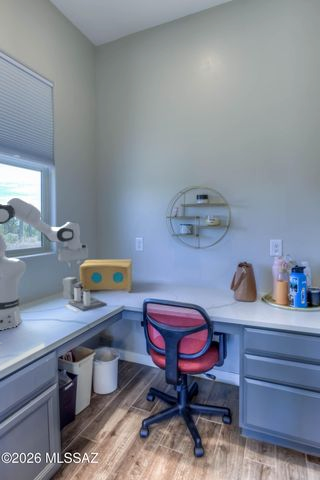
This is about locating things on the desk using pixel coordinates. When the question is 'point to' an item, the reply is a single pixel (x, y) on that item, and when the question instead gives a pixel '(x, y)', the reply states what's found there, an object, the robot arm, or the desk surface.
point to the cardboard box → (106, 274)
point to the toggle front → (86, 297)
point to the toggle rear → (77, 293)
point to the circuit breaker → (70, 287)
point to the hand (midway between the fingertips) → (74, 266)
